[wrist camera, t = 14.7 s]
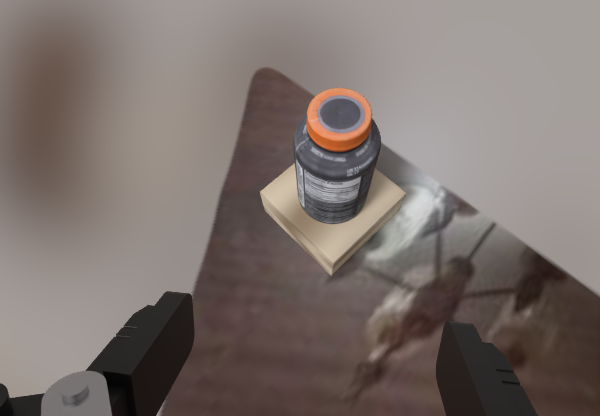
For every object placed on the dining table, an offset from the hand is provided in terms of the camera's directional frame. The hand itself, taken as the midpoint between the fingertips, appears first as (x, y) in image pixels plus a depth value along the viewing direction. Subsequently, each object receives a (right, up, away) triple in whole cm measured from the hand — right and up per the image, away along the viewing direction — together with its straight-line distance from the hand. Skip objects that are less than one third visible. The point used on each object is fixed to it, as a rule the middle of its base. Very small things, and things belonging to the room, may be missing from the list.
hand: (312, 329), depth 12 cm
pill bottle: (+2, +5, +22) cm, 22 cm away
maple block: (+3, +4, +25) cm, 26 cm away
